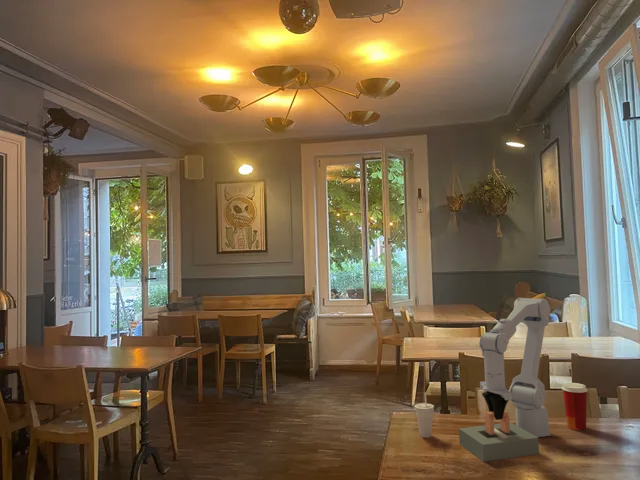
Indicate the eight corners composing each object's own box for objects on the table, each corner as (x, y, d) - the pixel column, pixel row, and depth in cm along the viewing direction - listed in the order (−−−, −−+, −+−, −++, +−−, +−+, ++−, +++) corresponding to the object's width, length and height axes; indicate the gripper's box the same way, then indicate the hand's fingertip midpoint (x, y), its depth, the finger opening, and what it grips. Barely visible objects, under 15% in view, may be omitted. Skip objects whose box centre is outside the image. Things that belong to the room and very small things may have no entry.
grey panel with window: (511, 437, 162) (510, 419, 162) (539, 454, 148) (538, 434, 148) (459, 444, 158) (458, 425, 158) (483, 461, 144) (482, 441, 144)
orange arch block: (504, 429, 155) (503, 409, 155) (509, 432, 152) (509, 412, 152) (485, 431, 154) (484, 411, 154) (490, 434, 151) (489, 414, 151)
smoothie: (435, 439, 162) (433, 395, 162) (415, 438, 163) (413, 395, 164) (435, 432, 168) (433, 390, 169) (415, 431, 170) (413, 389, 170)
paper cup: (590, 425, 169) (588, 383, 169) (588, 433, 163) (586, 389, 163) (564, 422, 173) (562, 381, 174) (561, 429, 167) (559, 386, 167)
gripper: (470, 368, 160) (472, 411, 159) (496, 379, 145) (498, 427, 145) (490, 366, 161) (492, 409, 161) (517, 377, 147) (519, 424, 147)
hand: (496, 417), depth 153 cm, fingers closed on orange arch block, 2 cm apart
